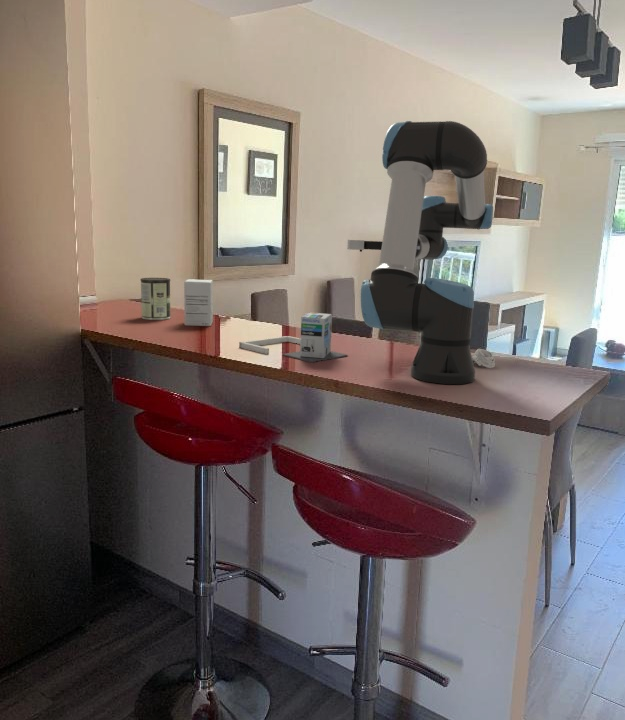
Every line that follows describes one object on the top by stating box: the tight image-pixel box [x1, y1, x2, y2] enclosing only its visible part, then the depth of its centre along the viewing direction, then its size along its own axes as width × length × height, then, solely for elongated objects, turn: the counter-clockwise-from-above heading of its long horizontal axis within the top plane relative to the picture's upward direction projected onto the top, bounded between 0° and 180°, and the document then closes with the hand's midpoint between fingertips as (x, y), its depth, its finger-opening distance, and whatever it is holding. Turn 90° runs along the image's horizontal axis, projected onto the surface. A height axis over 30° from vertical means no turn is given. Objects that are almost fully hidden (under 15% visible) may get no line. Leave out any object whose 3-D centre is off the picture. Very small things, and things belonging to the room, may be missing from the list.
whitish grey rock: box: [471, 348, 496, 369], centre depth 170 cm, size 8×7×5 cm
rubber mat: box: [282, 350, 348, 363], centre depth 174 cm, size 11×14×1 cm
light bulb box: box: [299, 311, 333, 358], centre depth 173 cm, size 11×7×11 cm, turn 168°
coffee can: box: [140, 277, 171, 321], centre depth 228 cm, size 10×10×14 cm
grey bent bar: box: [238, 335, 301, 355], centre depth 184 cm, size 12×19×2 cm, turn 136°
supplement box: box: [183, 278, 214, 327], centre depth 219 cm, size 9×9×15 cm
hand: (366, 245), depth 179 cm, fingers open, 13 cm apart
